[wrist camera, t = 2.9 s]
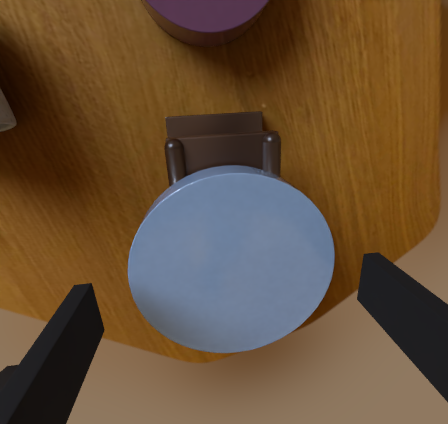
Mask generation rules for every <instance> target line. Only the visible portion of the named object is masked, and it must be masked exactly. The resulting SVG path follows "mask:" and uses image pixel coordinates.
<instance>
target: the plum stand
mask: <svg viewBox="0 0 448 424" xmlns="http://www.w3.org/2000/svg"><path fill="white" fill-rule="evenodd" d="M141 1H142V3H143V5H144V6H145V8H146V10H147V11H148V13H149V14H150V15H151V17H152V18H153V19H154V20H155V21H156V23H157V24H158V25H159V26H160V27H161V28H163V29H164V30H165V31H166V32H167V33H169V34H170V35H172V36H173V37H174V38H176V39H178V40H180V41H182V42H185V43H188V44H191V45H195V46H200V47H212V46H219V45H223V44H226V43H228V42H231V41H233V40H235V39H236V38H238V37H240V36H241V35H242V34H244V33H245V32H246V31H247V30H248V29H249V28H250V27H251V26H252V25H253V24H254V23H255V21H256V20H257V19H258V17H259V16H260V14H261V13H262V11H263V10H264V8H265V7H266V5H267V4H268V2H269V1H270V0H141Z"/></svg>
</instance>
